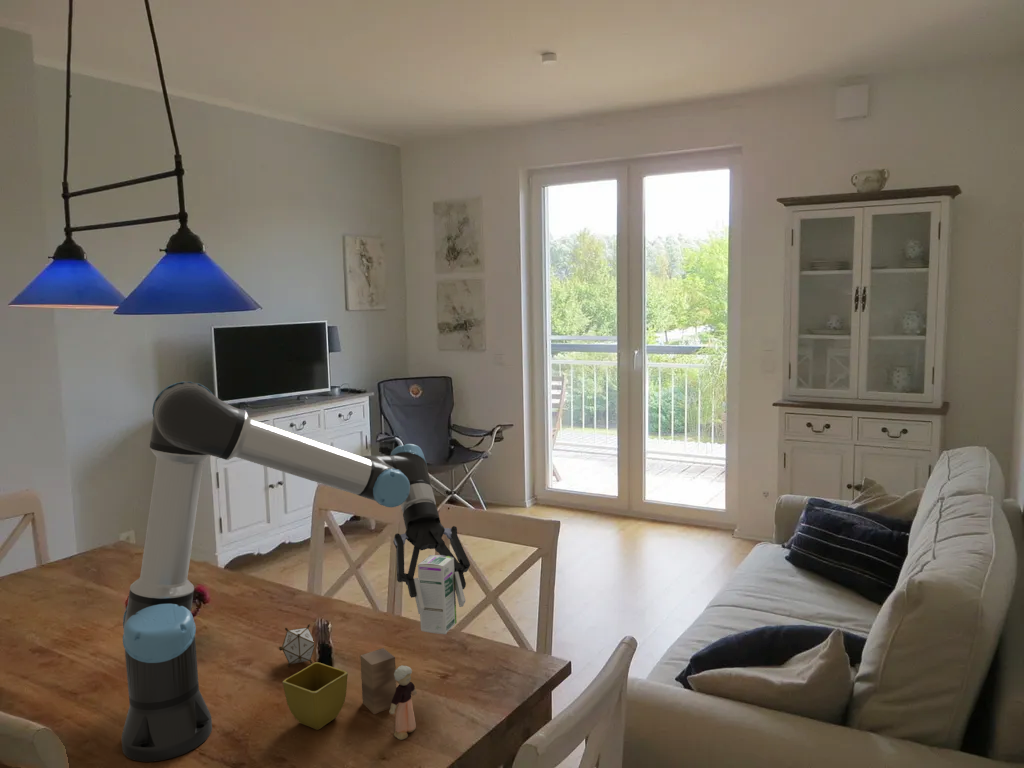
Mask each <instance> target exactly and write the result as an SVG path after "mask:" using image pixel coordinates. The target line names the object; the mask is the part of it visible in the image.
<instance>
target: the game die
mask: <svg viewBox="0 0 1024 768" xmlns="http://www.w3.org/2000/svg"><path fill="white" fill-rule="evenodd" d="M310 627H311V624H310V623H309V624H307V626H306V627H301V628H296V629H289V628H288V627H284V630H285V631H286V633H285V637H284V639H283V642H282V645H281V646H279V647H278V650H279V651H283V655H284V656H285V658H286V660H287V662H288V664H287V668H290V666H291V665H293V664H299V663H305V662H309V663H310V664H313V661H312V660H311V659H312V657H313V655H314V650H315V648H314V641H313V638H314V636H313V634H312V633H311V630H310Z"/></svg>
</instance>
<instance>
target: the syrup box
mask: <svg viewBox="0 0 1024 768" xmlns="http://www.w3.org/2000/svg"><path fill="white" fill-rule="evenodd" d="M417 578H418V581H419V585H420V590H421V595H422V599H423V604H424V610H423V613H422V614H419V618H420V619H419V620H420V621H419V622H420V631H421V632H424V633H430V634H439V635H447V634H448V632H449V631H450V630H451V629H452V628H453V627H454V626H455V625H457V623H458V622H457V620H458V619H457V601H456V599H457V595H456V591H455V573H454V558H453V557H450V556H443V555H440V554H429V555H428V557H426V558H424V559H423V560H422V561H420V562H419V563H417Z"/></svg>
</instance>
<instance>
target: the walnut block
mask: <svg viewBox="0 0 1024 768" xmlns="http://www.w3.org/2000/svg"><path fill="white" fill-rule="evenodd" d="M359 658H360V671H361V672H360V677H361V693H362V696H361V697H362V698H361V699H362V705H364V707H366V708H367V709H368V711H370V713H372V714H373V715H376V714H378V713H381V712H384V711H386V709H387V710H390V709H391V702H392V699H393V696H394V694H395V691H396V688H397V680H395V677H394V672H395V670H396V669H397V668H396V657H395V656H394V655H393V654H392V653H390V652H389V651H388V650H386V649H385V648H384V647H382V648H379V649H376V650H373V651H369V652H367V653H364V654H360V657H359ZM383 710H384V711H383Z"/></svg>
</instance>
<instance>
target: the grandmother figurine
mask: <svg viewBox="0 0 1024 768" xmlns="http://www.w3.org/2000/svg"><path fill="white" fill-rule="evenodd" d="M412 673H413V669H412V668H411V667H410V666H407V665H400V666H398V667H397V668H396V670H395V672H394V677H395V680H396V683H398V684H397V686H396V691H395V694H394V696H393V699H392V702H391V708H389V709H388V710H389V712H388V713H389V714H390V715H395V721H394V722H395V724H394V730H395V732H394V734H393V736H394V738H396V739H398V740H405V739H408V736H409V733H412V732H414V731H415V729H416V728H417V725H416V718H415V713H414V708H413V707H414V706H413V701H412V696H416V694H417V692H418V691H417V690H416V688H415V687H416V686H415V684H414V683H413V682H412V681H411V679H412V675H411V674H412Z"/></svg>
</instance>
